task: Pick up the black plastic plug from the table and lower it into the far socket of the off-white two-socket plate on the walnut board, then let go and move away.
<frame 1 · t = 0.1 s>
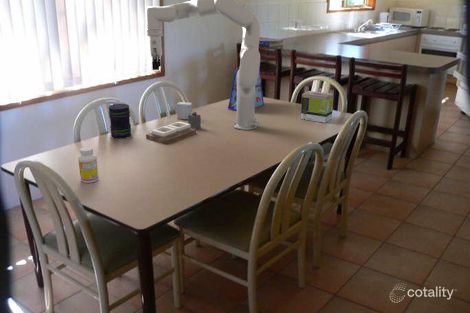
hand: (156, 68, 226), 31 cm above the table, tool pointing down, fingers open, 9 cm apart
socket plate: (169, 129, 224), on the walnut board, point 3 cm above the table
storage jar: (121, 136, 225), on the table
tea box: (316, 119, 254), on the table
plug: (194, 127, 237), on the table
supplement bottle: (90, 180, 174), on the table
lunch bag: (246, 107, 277), on the table
medicine box: (185, 118, 254), on the table
walnut board: (171, 135, 225), on the table
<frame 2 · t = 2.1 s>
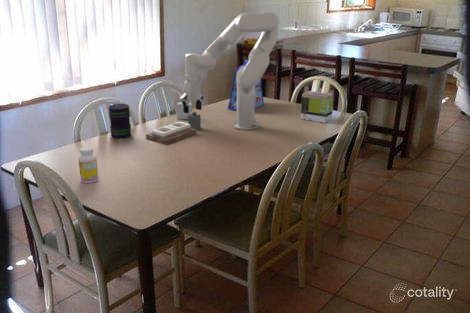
hand: (192, 111, 234), 9 cm above the table, tool pointing down, fingers open, 9 cm apart
nothing on the table moved.
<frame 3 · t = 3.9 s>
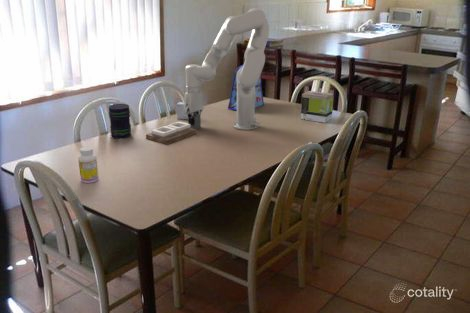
hand: (194, 123, 236), 2 cm above the table, tool pointing down, fingers closed on plug, 4 cm apart
plug: (194, 127, 237), on the table, touching gripper
everything else where it was.
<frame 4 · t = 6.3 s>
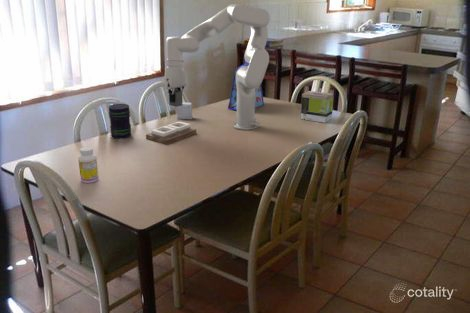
hand: (175, 100, 222), 17 cm above the table, tool pointing down, fingers closed on plug, 4 cm apart
plug: (175, 105, 223), point 15 cm above the table, touching gripper
everything else where it was.
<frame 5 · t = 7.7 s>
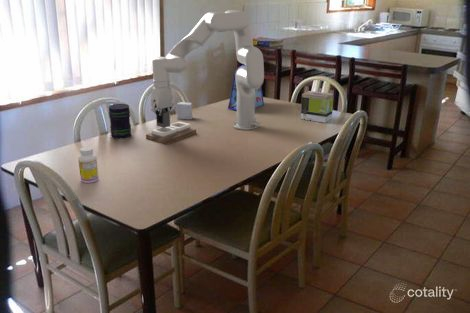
hand: (163, 121, 218), 9 cm above the table, tool pointing down, fingers closed on plug, 4 cm apart
plug: (163, 125, 219), point 6 cm above the table, touching gripper
everything else where it was.
when the fingers open (6 cm above the table, at t = 9.0 s): plug stays where it is, resting on socket plate.
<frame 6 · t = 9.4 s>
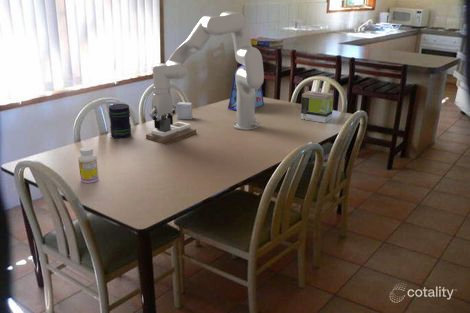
hand: (163, 126, 219), 6 cm above the table, tool pointing down, fingers open, 8 cm apart
plug: (164, 132, 220), point 3 cm above the table, touching socket plate
everything else where it was.
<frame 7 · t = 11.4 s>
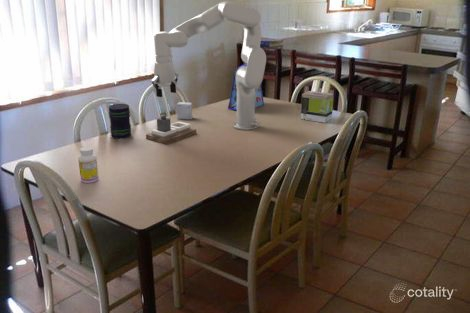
hand: (166, 94, 219), 20 cm above the table, tool pointing down, fingers open, 9 cm apart
nothing on the table moved.
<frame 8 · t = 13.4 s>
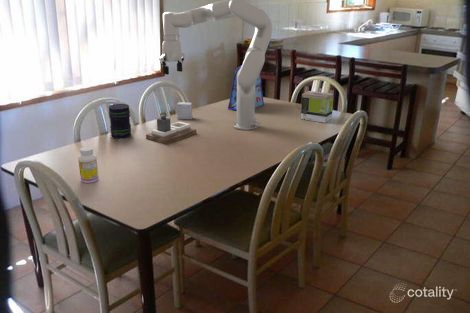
hand: (173, 72, 230), 28 cm above the table, tool pointing down, fingers open, 9 cm apart
nothing on the table moved.
at the end: plug 0.0 cm from the target spot on the socket plate, point 3.0 cm above the socket plate's base; plug tilted 0°; the gripper is holding nothing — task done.
